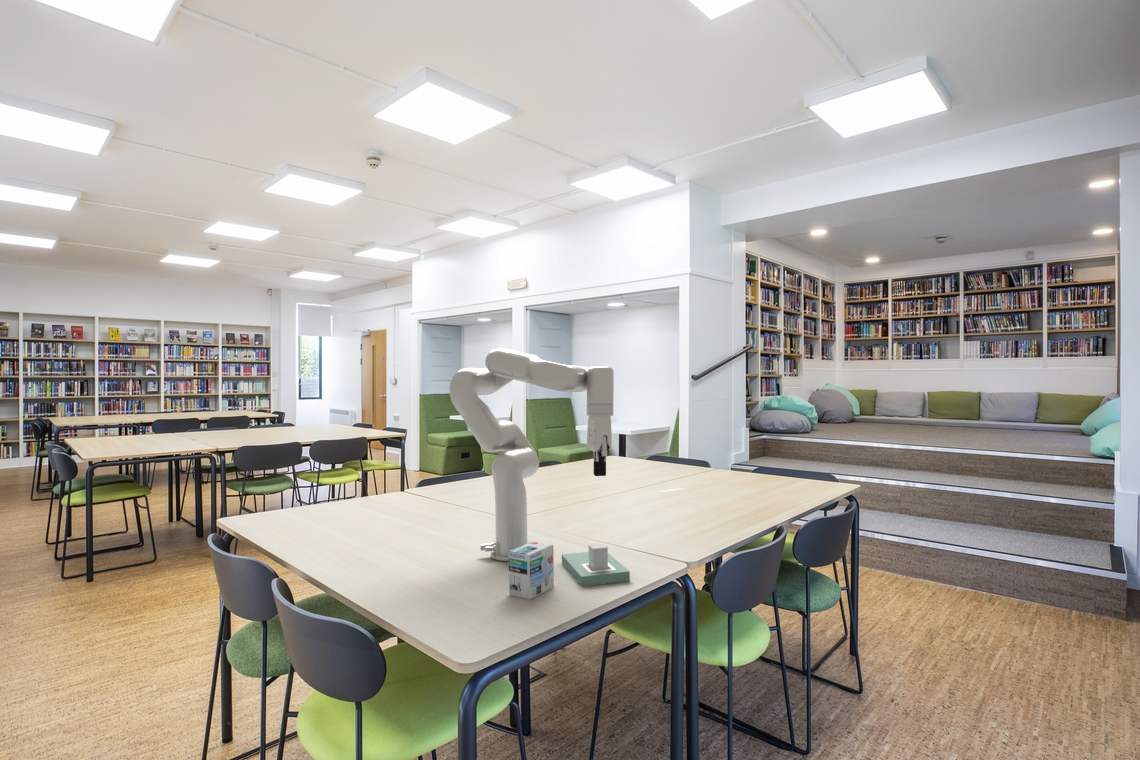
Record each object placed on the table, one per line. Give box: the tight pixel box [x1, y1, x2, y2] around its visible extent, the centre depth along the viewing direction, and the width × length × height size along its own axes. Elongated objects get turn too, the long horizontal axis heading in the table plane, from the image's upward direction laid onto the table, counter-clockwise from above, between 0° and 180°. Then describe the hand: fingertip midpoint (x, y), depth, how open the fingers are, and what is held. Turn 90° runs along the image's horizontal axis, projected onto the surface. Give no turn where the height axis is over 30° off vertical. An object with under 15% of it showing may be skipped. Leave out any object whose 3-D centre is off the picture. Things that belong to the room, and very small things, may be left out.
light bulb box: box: [508, 540, 555, 600], centre depth 139 cm, size 11×7×11 cm, turn 148°
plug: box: [588, 543, 609, 571], centre depth 149 cm, size 4×4×8 cm
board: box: [561, 551, 631, 587], centre depth 153 cm, size 13×20×2 cm, turn 15°
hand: (599, 475), depth 157 cm, fingers closed
